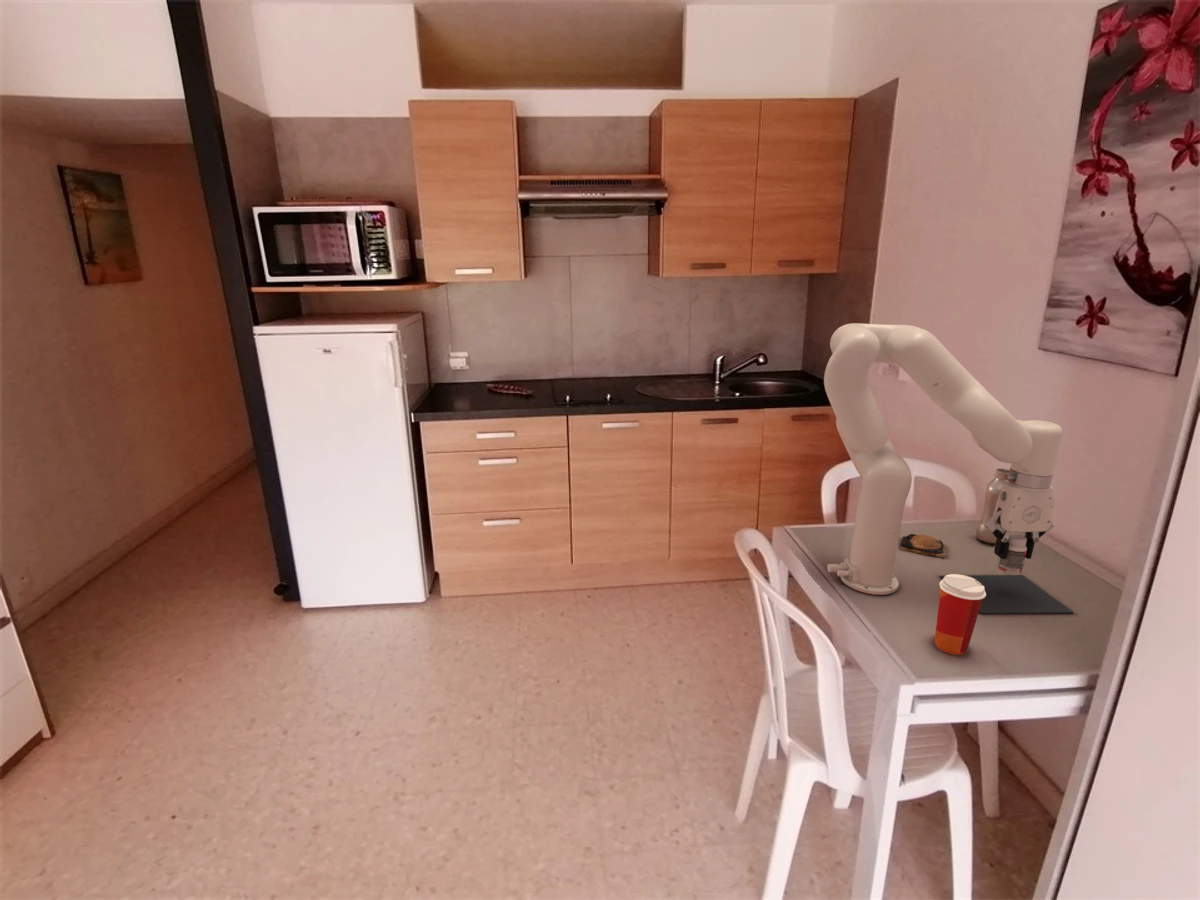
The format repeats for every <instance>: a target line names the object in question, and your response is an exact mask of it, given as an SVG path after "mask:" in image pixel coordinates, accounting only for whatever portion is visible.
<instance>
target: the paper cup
mask: <svg viewBox="0 0 1200 900" xmlns="http://www.w3.org/2000/svg"><path fill="white" fill-rule="evenodd" d="M944 576H945V577H944V578H943V579H941V580H940V581H939V583H938V584H939V588H940V590H939V591H940V592H939V599H938V607H937V614H936V615H937V616H936V623H935V631H934V646H936V647H937V648H938V649H939V650H940V651H942V652H944V653H947V654H950V655H953V656H954V655H955V656H962V655H965V654H966V653H967V651H968V648H969V646H970V644H971V639H972V636H973V633H974V629H975V627H976V623H977V620H978V616H979V614H980V613H979V610H980V607H981V603H982V600H983V598H984V597H985V596H986V592H985V589H984V586H982V584H981V583H980V582H978V581H977V580H976V579H974V578H971V577H968V576H964V574H958V573H951V574H947V575H944Z"/></svg>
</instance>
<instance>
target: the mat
mask: <svg viewBox="0 0 1200 900" xmlns="http://www.w3.org/2000/svg"><path fill="white" fill-rule="evenodd" d="M963 575H964V574H963ZM945 576H946V575H939V578H940V579H941V580H943V578H944V577H945ZM964 576H968V577H971V578H974V579H976V580H977V581H978V582H980V583H981V584H982V586H984V589H985V592H986V596H985V597H984V598H983V600H982V603H981V607H980V610H979V613H978V614H979V615H1073V614H1074V611H1072V610H1071V609H1070V608H1068V607H1067V606H1066V605H1064V604H1063V603H1062V602H1060V601H1058V600H1057V599H1056V598H1054V596H1052V595H1051V594H1049V593H1048V592H1046V591H1045V590H1044V589H1042V588H1041V587H1040V586H1038V585H1037V584H1035V583H1034V582H1033V581H1032V580H1031V579H1028V578H1027V577H1026V576H1024V575H1023V574H1020V575H1009V574H1005V575H1004V574H989V575H988V574H985V575H984V574H979V575H977V574H976V575H975V574H974V575H971V574H970V575H968V574H967V575H966V574H965V575H964Z"/></svg>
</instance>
